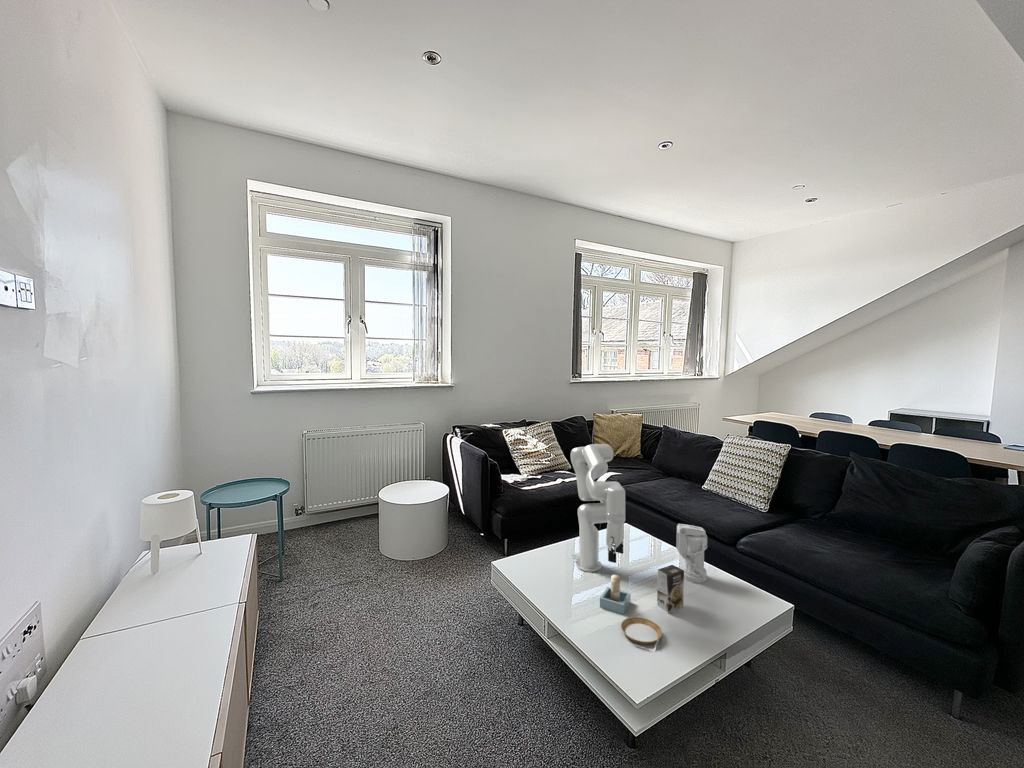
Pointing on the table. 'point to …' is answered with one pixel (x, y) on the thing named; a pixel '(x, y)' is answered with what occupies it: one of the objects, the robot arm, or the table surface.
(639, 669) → the table surface
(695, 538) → the white sculpture
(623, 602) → the holder
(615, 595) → the dowel
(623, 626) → the plant saucer
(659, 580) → the coffee box
